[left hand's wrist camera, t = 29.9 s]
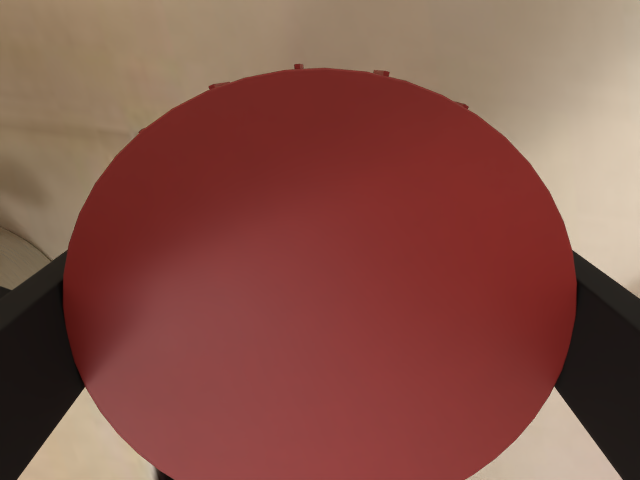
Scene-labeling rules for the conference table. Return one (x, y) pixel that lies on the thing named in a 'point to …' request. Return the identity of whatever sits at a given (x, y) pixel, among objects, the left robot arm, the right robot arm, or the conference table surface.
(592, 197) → the conference table surface
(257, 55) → the conference table surface
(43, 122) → the conference table surface
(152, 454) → the lid
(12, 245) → the jar
